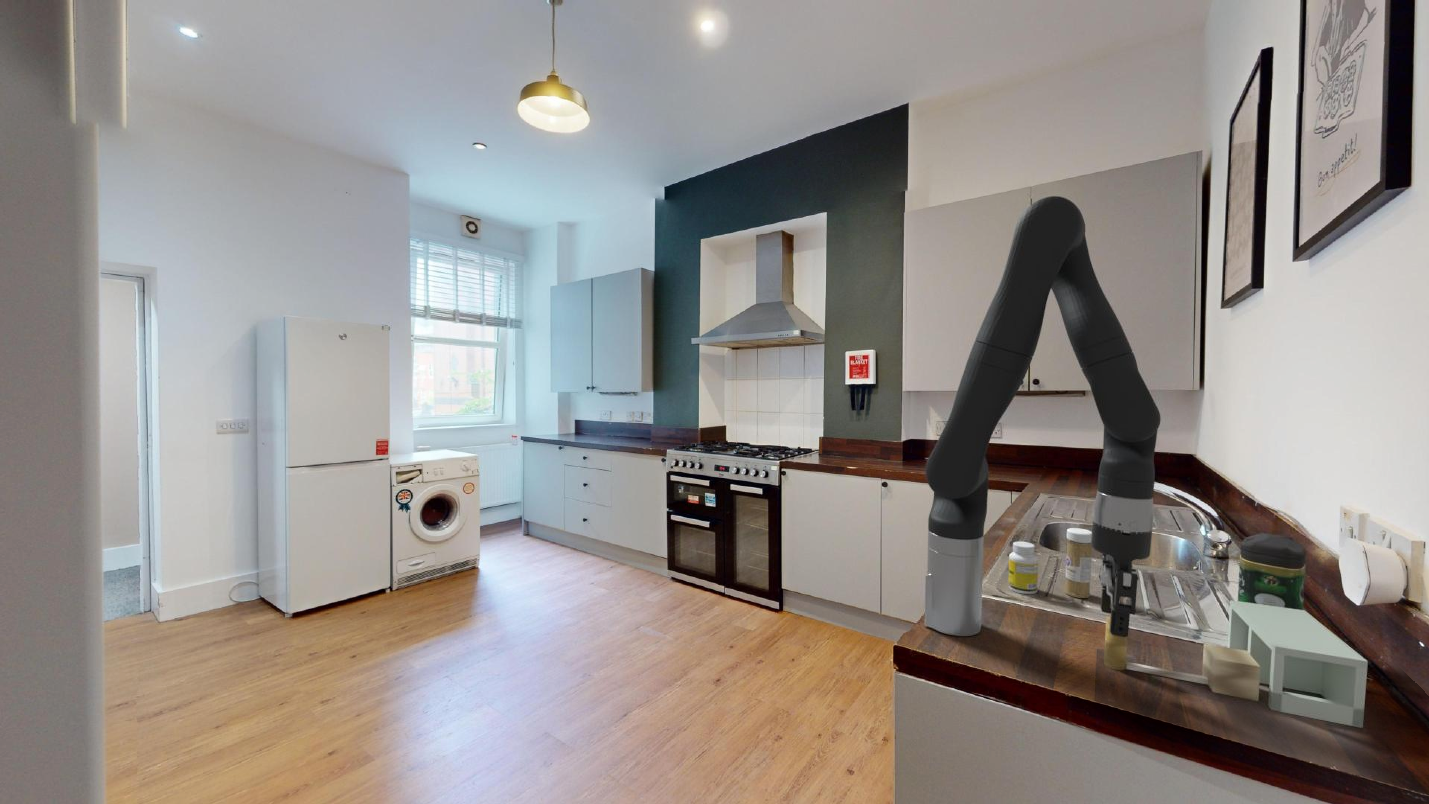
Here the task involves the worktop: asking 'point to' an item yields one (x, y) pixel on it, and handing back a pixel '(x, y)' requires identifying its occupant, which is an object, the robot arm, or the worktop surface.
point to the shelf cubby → (1301, 662)
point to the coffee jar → (1272, 571)
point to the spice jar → (1078, 563)
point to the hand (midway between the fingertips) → (1113, 623)
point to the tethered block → (1220, 668)
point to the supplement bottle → (1023, 568)
